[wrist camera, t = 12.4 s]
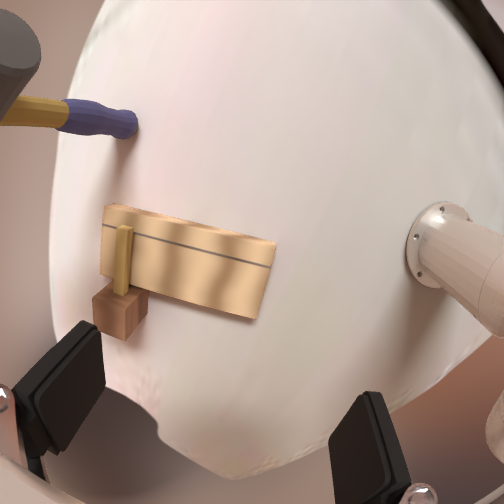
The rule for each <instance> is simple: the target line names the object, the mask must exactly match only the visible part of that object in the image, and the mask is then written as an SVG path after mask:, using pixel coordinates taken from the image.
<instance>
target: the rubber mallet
mask: <svg viewBox="0 0 504 504" xmlns="http://www.w3.org/2000/svg"><path fill="white" fill-rule="evenodd" d="M40 61H41V48H40V44H39V41H38V38H37V36H36V35H35V33H34V32H33V30H32V29H31V28H30V26H29V25H28V24H27V23H26V22H25V21H23V20H22V19H21V18H20V17H18V16H17V15H15V14H14V13H11V12H9V11H7V10H4V9H0V126H32V127H33V126H34V127H50V128H55V129H57V130H58V131H62V132H67V133H72V134H77V135H86V136H90V135H96V134H104V135H112V136H113V137H115V138H119V139H127V138H129V137H130V136H132V135H133V134H134V133H135V132H136V131H137V128H138V119H137V117H136V115H135V113H133V112H132V111H129V110H115V109H111V108H107V107H105V106H103V105H101V104H99V103H97V102H93V101H88V100H79V99H65V100H61V101H59V100H52V99H46V98H38V97H31V96H22V95H19V94H20V93H21V92H22V90H23V89H24V87H25V86H26V85H27V83H28V82H29V81H30V79H31V78H32V77H33V76H34V74H35V73H36V72H37V70H38V68H39V65H40Z"/></svg>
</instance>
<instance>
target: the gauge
mask: <svg viewBox="0 0 504 504" xmlns="http://www.w3.org/2000/svg"><path fill="white" fill-rule="evenodd" d="M132 237H133V227H130V226H126V225H121V226H119V227H117V229H116V241H115V256H114V279H113V281H112V282H111V283H109V284H108V285H107V286H106V287H105V288H103V289H102V290H101V291H100V292H99V293H97V294H96V295H95V296H94V297H93V298H92V303H93V322H94V325H96V326H97V328H98V331H100V332H103V333H105V334H108V335H110V336H113V337H115V338H118V339H121V340H123V341H126V339H127V338H128V337H129V335H130V334H131V333H132V332H133V330H134V329H135V328H136V326H137V325H138V324H139V323H140V321H141V320H142V319H143V317H144V316H145V315H146V314H147V309H148V295H149V290H147V289H143V288H140V287H137V286H134V285H131V284H129V273H130V259H131V247H132Z"/></svg>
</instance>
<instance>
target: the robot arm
mask: <svg viewBox="0 0 504 504" xmlns="http://www.w3.org/2000/svg"><path fill="white" fill-rule="evenodd" d="M414 236H415V237H414ZM406 255H407V262H408V266H409V269H410V271H411V273H412V275H413V276H414V277H415V278H416V279H417V280H418V281H419V282H420V283H421V284H423V285H425V286H426V287H430V288H443V289H445V290H446V291H447V292H448V293H449V294H450V295H451V296H452V297H454V298H455V299H456V300H457V301H458V302H459V303H460V304H461V305H462V306H463V307H464V308H465V309H467V310H468V311H469V312H470V313H471V314H472V315H473V316H474V317H475V318H476V319H477V320H478V321H479V322H480V323H481V324H482V325H483V326H484V327H485V328H486V329H487V330H488V331H489V332H491V333H492V334H493V335H495V336H496V337H499V338H502V339H504V236H503V235H501V234H499V233H497V232H494V231H492V230H490V229H487V228H485V227H483V226H480V225H478V224H475V223H473V222H472V219H471V218H470V216H469V214H468V213H467V212H466V211H465V210H464V209H463V208H462V207H460V206H459V205H456V204H453V203H449V202H440V203H437V204H434V205H432V206H430V207H428V208H427V209H426V210H425V211H423V212H422V213H421V214H420V216H419V217H418V218H417V219H416V221H415V223H414V224H413V226H412V228H411V231H410V234H409V236H408V241H407V249H406ZM105 385H106V380H105V372H104V363H103V352H102V340H101V332H100V331H98V328H97V326H96V325H93V324H91V323H89V322H86V321H84V320H82V321H80V322H79V323H78V324H77V325H76V326H75V327H74V328H73V329H72V330H71V331H70V332H69V333H68V334H66V335H65V336H64V337H63V338H62V339H61V340H60V341H59V342H58V343H57V344H56V345H55V346H54V347H53V348H51V349H50V350H49V351H48V352H47V353H46V354H45V355H44V356H43V357H42V358H41V359H40V360H39V361H38V362H37V363H36V364H35V365H34V366H33V367H32V368H31V369H30V370H29V371H28V373H27V374H26V375H25V376H24V377H23V378H22V379H21V380H20V381H19V382H18V383H17V384H16V385H15V386H14V388H13V389H12V390H10V389H9V388H8V387H7V386H5V385H3V384H0V504H85V503H83V502H81V501H79V500H77V499H76V498H74V497H72V496H70V495H68V494H66V493H64V492H63V491H61V490H59V489H57V488H56V487H54V486H52V485H51V484H50V481H49V477H48V474H47V470H46V466H45V462H44V458H43V455H44V454H45V452H46V451H47V450H49V451H50V452H52V453H53V454H55V455H58V454H59V452H60V451H62V452H63V451H65V450H66V448H67V447H68V445H69V444H70V442H71V440H72V439H73V437H74V435H75V433H76V432H77V431H78V429H79V427H80V426H81V424H82V422H83V421H84V420H85V418H86V417H87V415H88V413H89V412H90V410H91V409H92V407H93V406H94V404H95V403H96V401H97V400H98V398H99V396H100V395H101V394H102V392H103V390H104V388H105ZM485 434H486V440H487V443H488V446H489V448H490V450H491V451H492V453H493V454H494V455H495V456H496V457H497V458H498V459H499V460H500V461H501V462H503V463H504V390H503V392H502V394H501V395H500V397H499V399H498V400H497V402H496V403H495V405H494V407H493V408H492V410H491V412H490V414H489V417H488V420H487V424H486V431H485ZM328 445H329V453H330V461H331V469H332V477H333V486H334V495H335V504H437V495H436V493H435V491H434V490H433V488H432V487H430V486H429V485H427V484H424V483H416V484H413V485H411V478H410V475H409V472H408V468H407V465H406V462H405V459H404V456H403V453H402V450H401V447H400V444H399V441H398V438H397V435H396V432H395V429H394V426H393V423H392V421H391V418H390V415H389V412H388V410H387V407H386V404H385V402H384V399H383V396H382V394H381V393H380V392H370V391H365V392H364V393H363V394H362V395H359V396H358V397H357V399H356V400H355V402H354V403H353V405H352V406H351V408H350V409H349V411H348V412H347V414H346V415H345V416H344V418H343V419H342V421H341V422H340V423H339V425H338V426H337V428H336V429H335V430H334V432H333V433H332V434H331V436H330V438H329V442H328Z"/></svg>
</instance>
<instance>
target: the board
mask: <svg viewBox="0 0 504 504" xmlns="http://www.w3.org/2000/svg"><path fill="white" fill-rule="evenodd" d="M121 225H126V226H130V227H133V237H132V247H131V259H130V273H129V284H131V285H134V286H137V287H140V288H143V289H147V290H150V291H153V292H156V293H160V294H163V295H167V296H170V297H173V298H177V299H180V300H184V301H187V302H191V303H195V304H198V305H202V306H206V307H209V308H213V309H217V310H221V311H225V312H228V313H232V314H236V315H240V316H244V317H249V318H253V319H256V317H257V314H258V310H259V307H260V304H261V300H262V297H263V293H264V290H265V286H266V283H267V279H268V276H269V272H270V269H271V265H272V261H273V258H274V254H275V251H276V243H275V242H271V241H267V240H263V239H259V238H255V237H251V236H247V235H243V234H239V233H235V232H231V231H227V230H223V229H219V228H215V227H211V226H207V225H203V224H199V223H194V222H190V221H186V220H182V219H178V218H174V217H169V216H165V215H161V214H157V213H153V212H148V211H144V210H140V209H135V208H131V207H127V206H122V205H118V204H114V203H113V204H110V205H107V206H104V213H103V223H102V238H101V259H100V275H103V276H106V277H109V278H112V279H114V256H115V241H116V229H117V227H119V226H121Z"/></svg>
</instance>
